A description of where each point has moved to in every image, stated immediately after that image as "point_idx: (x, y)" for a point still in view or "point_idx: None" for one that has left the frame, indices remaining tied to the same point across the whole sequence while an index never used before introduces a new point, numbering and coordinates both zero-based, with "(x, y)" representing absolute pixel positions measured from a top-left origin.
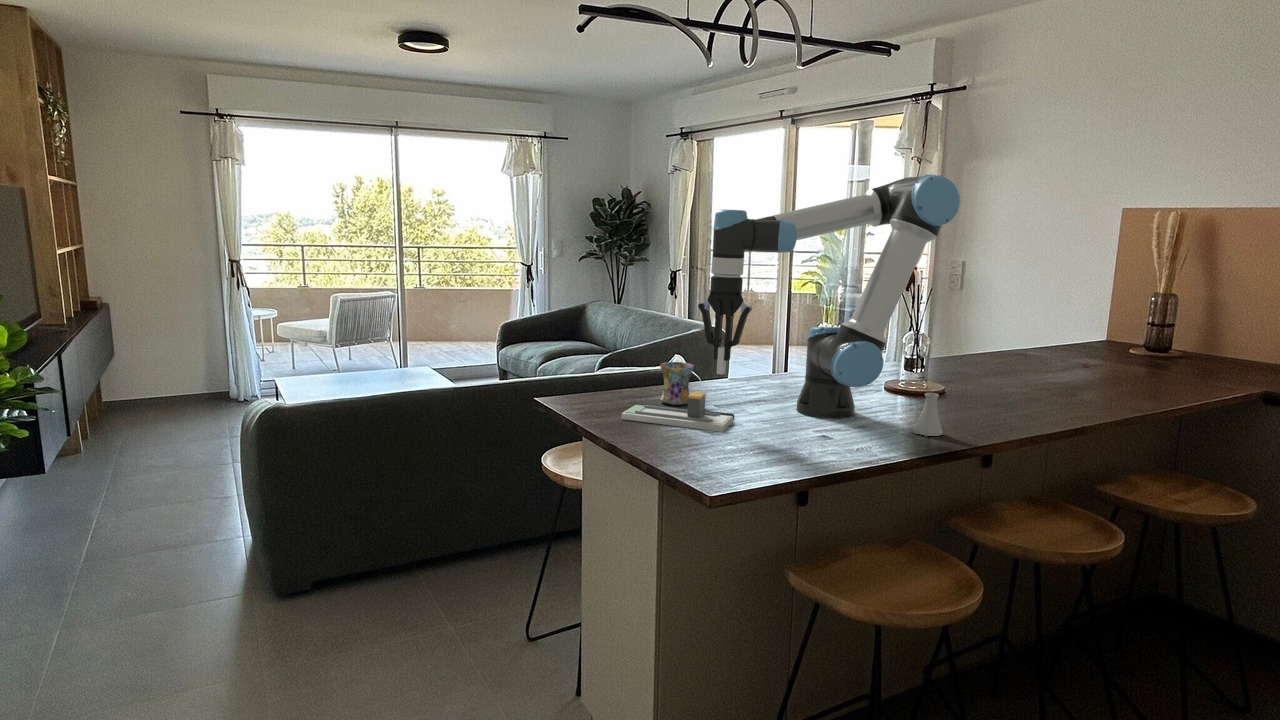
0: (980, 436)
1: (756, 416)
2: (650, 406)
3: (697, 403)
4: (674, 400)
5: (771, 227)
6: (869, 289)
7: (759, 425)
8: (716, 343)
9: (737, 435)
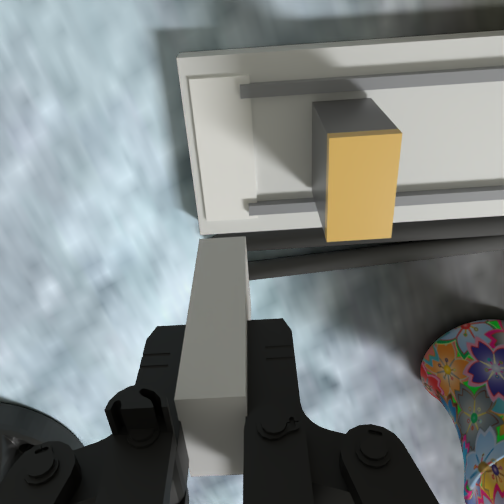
0: None
1: None
2: None
3: (336, 124)
4: (479, 332)
5: None
6: None
7: (93, 229)
8: (270, 432)
9: (96, 28)
